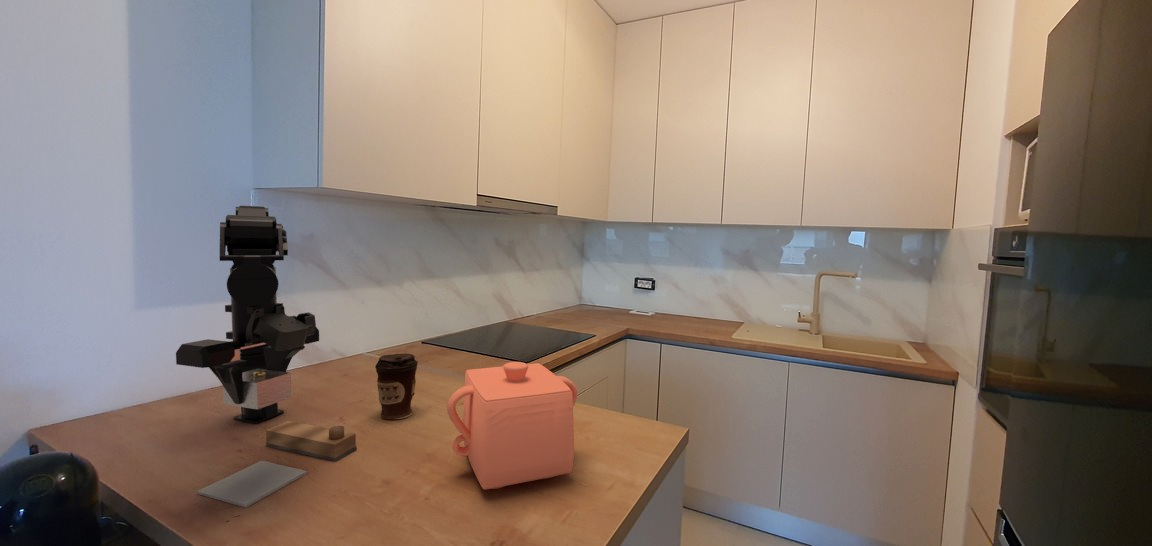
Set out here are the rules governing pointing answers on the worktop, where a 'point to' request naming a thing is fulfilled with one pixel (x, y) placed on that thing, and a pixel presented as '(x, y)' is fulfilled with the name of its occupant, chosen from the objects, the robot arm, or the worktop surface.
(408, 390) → the coffee cup
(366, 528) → the worktop surface
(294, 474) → the felt pad
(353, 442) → the plane body
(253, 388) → the grey jewelry box
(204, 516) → the worktop surface
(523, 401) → the teapot
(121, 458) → the worktop surface
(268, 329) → the robot arm
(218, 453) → the worktop surface
